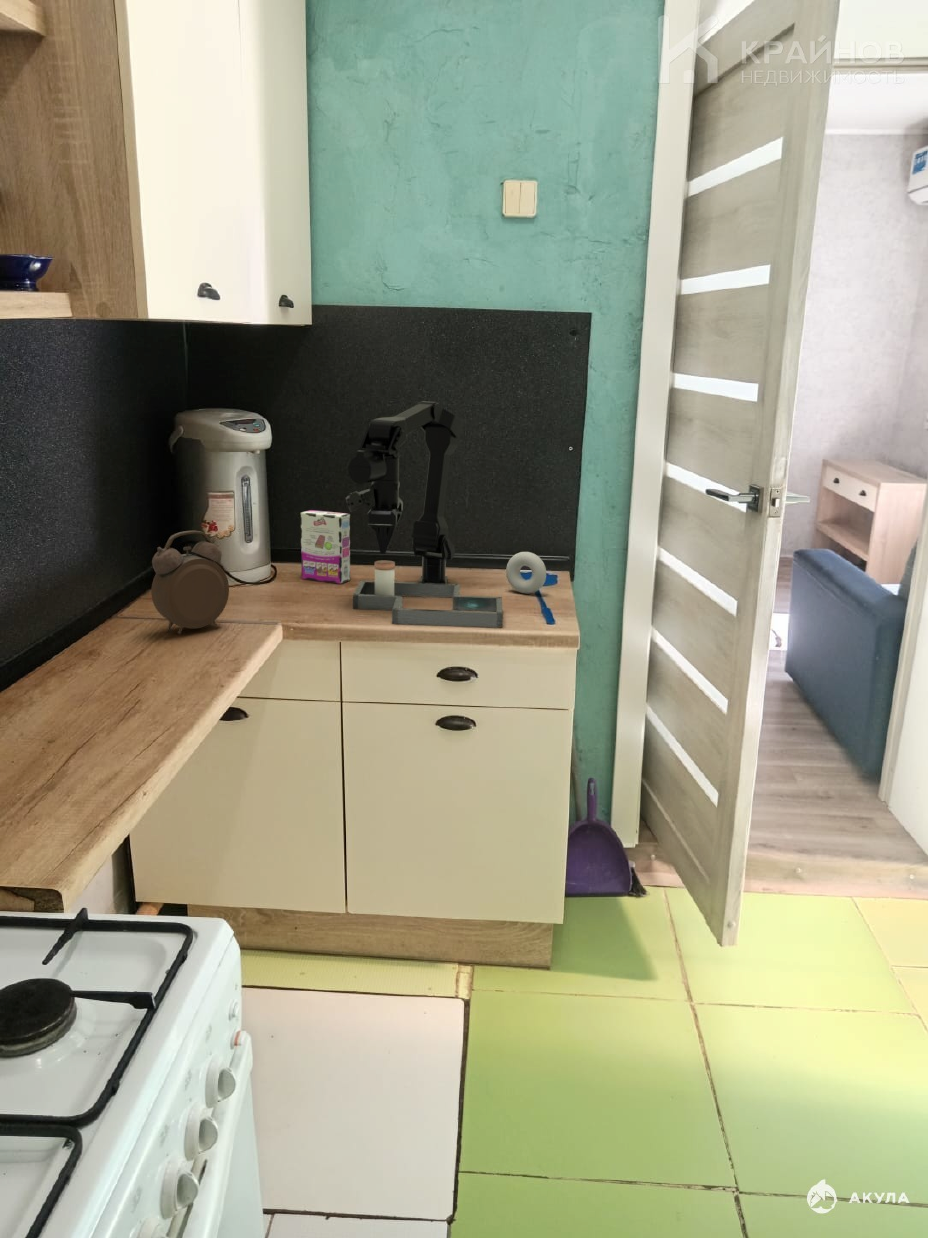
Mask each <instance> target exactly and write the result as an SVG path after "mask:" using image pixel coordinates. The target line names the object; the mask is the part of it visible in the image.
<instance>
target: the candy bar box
mask: <svg viewBox="0 0 928 1238" xmlns="http://www.w3.org/2000/svg"><path fill="white" fill-rule="evenodd" d="M300 550H301V551H300V554H301V555H300V556H301V557H300V558H301V559H300V560H301V580H309V581H315V582H324V583H330V584H332V583H333V584H339V585H341V584H345V583H346V582H349V581H350V580H351V513H345V512H344V513H343V512H333V511H325V510H324V511H323V510H313V509H310V510H305V511H302V512H300Z"/></svg>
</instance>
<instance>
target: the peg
mask: <svg viewBox="0 0 928 1238" xmlns="http://www.w3.org/2000/svg"><path fill="white" fill-rule="evenodd" d="M395 568H396V562H395V561H392V560H376V561H374V581H375V595H391V596H394V582H395V576H396V575H395V572H396V571H395Z"/></svg>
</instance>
